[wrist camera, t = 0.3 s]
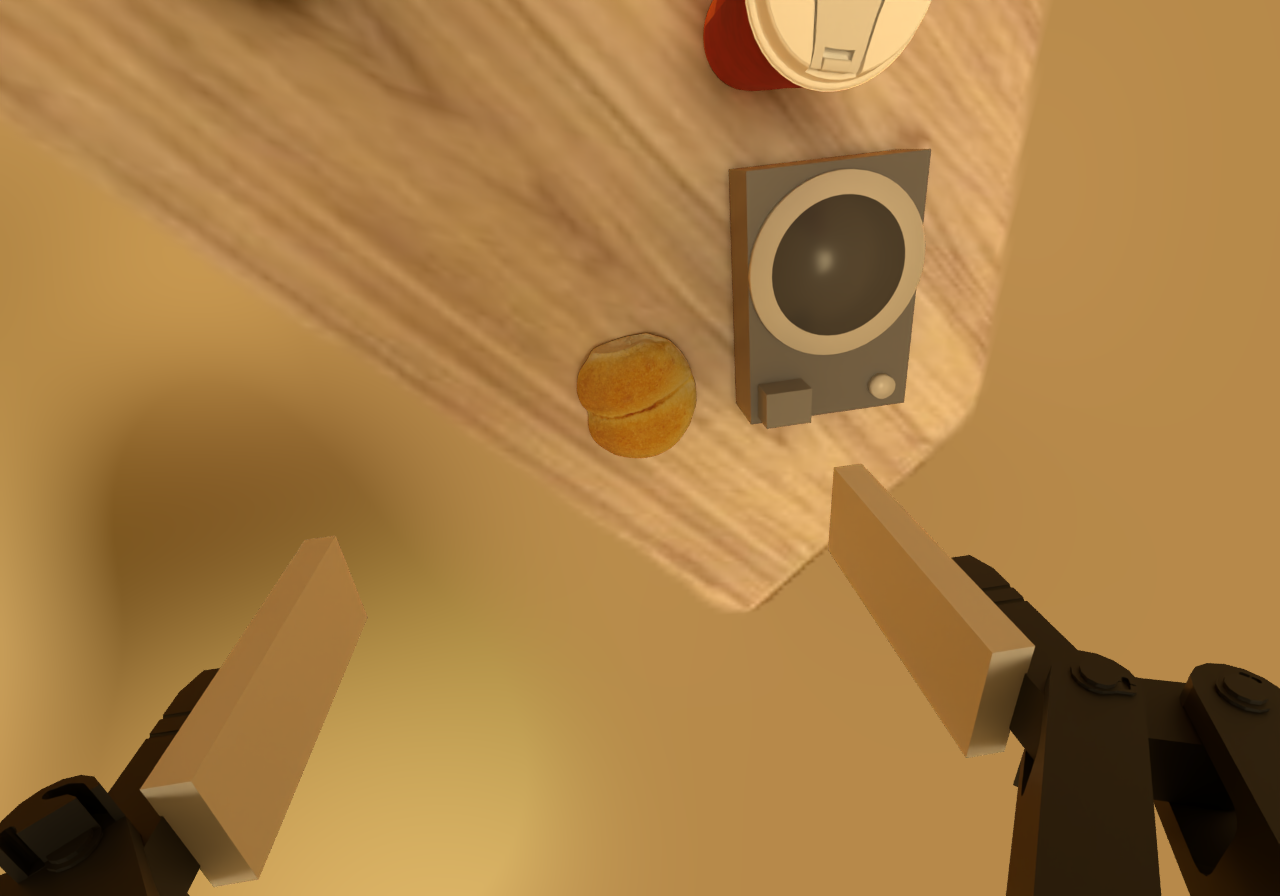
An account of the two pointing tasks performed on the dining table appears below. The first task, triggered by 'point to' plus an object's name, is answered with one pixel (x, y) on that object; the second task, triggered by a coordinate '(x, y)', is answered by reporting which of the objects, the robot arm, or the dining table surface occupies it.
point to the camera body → (825, 282)
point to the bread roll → (637, 395)
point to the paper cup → (807, 41)
